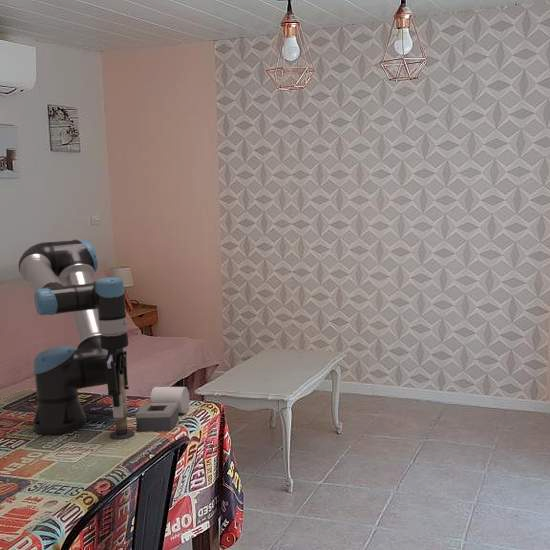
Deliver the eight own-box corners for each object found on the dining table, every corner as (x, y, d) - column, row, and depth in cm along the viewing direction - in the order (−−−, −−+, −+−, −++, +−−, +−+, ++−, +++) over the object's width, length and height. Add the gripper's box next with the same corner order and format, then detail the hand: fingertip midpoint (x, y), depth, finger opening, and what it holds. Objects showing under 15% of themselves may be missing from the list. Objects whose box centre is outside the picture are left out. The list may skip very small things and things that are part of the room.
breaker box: (136, 431, 215) (135, 413, 215) (146, 420, 225) (144, 403, 224) (171, 430, 214) (169, 413, 214) (178, 419, 224) (177, 402, 223)
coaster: (106, 439, 209) (106, 438, 209) (113, 431, 216) (113, 429, 216) (130, 439, 209) (130, 437, 209) (137, 430, 216) (137, 429, 216)
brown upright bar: (114, 435, 211) (110, 376, 209) (118, 431, 214) (113, 373, 212) (125, 435, 211) (121, 376, 209) (129, 431, 214) (124, 373, 212)
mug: (182, 416, 227) (180, 391, 226) (150, 416, 229) (149, 391, 228) (194, 404, 239) (192, 380, 238) (164, 404, 241) (162, 380, 240)
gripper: (118, 339, 201) (125, 423, 203) (134, 327, 217) (141, 406, 219) (90, 340, 201) (98, 424, 204) (109, 328, 217) (116, 406, 220)
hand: (120, 414), depth 212 cm, fingers closed on brown upright bar, 3 cm apart
